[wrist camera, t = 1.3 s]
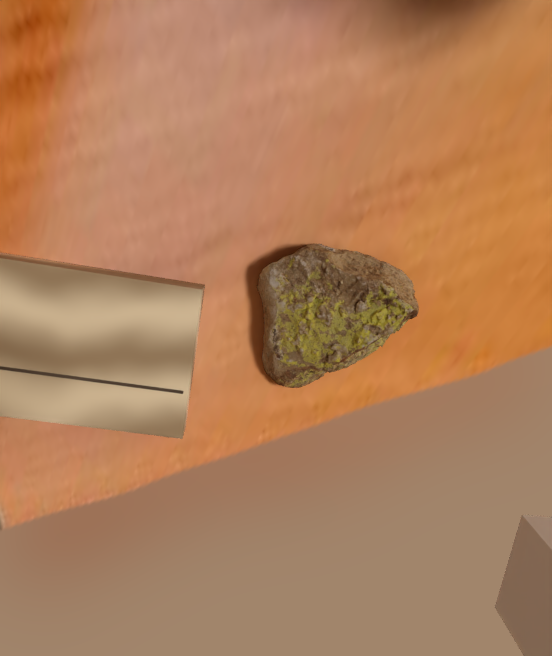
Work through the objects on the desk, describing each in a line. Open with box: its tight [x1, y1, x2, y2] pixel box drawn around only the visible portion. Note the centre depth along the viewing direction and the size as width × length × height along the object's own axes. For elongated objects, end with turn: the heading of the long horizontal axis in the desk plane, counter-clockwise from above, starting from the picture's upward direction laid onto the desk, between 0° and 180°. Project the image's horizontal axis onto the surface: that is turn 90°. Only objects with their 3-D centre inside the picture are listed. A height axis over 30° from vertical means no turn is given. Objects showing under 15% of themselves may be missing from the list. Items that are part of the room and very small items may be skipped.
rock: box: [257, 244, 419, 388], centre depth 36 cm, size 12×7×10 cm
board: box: [0, 253, 205, 439], centre depth 36 cm, size 12×28×2 cm, turn 80°
